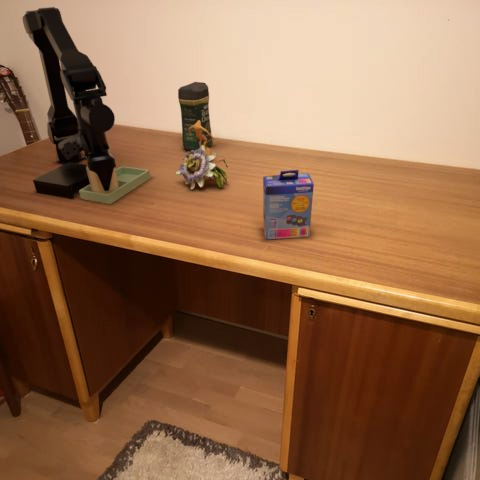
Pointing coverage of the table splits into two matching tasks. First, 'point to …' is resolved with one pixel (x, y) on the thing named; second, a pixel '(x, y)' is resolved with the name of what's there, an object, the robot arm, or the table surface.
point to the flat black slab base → (61, 180)
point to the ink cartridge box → (287, 205)
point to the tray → (127, 182)
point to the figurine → (201, 135)
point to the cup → (96, 183)
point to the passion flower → (201, 168)
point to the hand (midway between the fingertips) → (104, 185)
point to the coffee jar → (194, 113)
